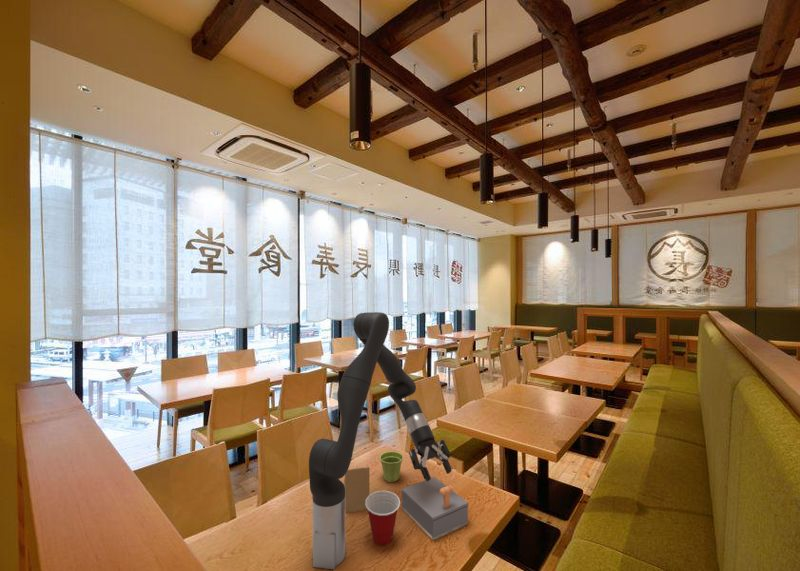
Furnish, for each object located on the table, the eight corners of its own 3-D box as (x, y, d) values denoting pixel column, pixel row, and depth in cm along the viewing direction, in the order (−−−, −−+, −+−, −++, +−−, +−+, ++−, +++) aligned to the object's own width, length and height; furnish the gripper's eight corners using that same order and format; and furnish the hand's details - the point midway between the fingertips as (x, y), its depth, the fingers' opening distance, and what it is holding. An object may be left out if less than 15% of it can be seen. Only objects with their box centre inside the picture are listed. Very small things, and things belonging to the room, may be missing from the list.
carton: (467, 524, 118) (467, 506, 118) (433, 540, 111) (433, 521, 110) (434, 496, 133) (434, 480, 133) (402, 508, 126) (402, 491, 126)
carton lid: (468, 505, 118) (468, 483, 118) (432, 520, 110) (432, 497, 110) (434, 479, 133) (434, 460, 133) (401, 491, 126) (401, 471, 126)
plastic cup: (368, 555, 105) (368, 514, 104) (362, 530, 115) (362, 493, 115) (404, 548, 107) (404, 508, 107) (395, 524, 118) (395, 488, 118)
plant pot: (402, 485, 140) (402, 463, 140) (378, 484, 141) (378, 462, 141) (403, 472, 150) (403, 451, 150) (380, 471, 150) (380, 451, 150)
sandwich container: (364, 485, 141) (364, 447, 140) (370, 509, 126) (369, 467, 125) (341, 488, 139) (341, 449, 138) (345, 513, 124) (345, 470, 123)
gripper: (406, 429, 122) (426, 478, 113) (439, 420, 130) (461, 466, 121) (398, 438, 127) (417, 487, 118) (430, 429, 135) (450, 474, 125)
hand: (439, 476), depth 119 cm, fingers open, 8 cm apart
